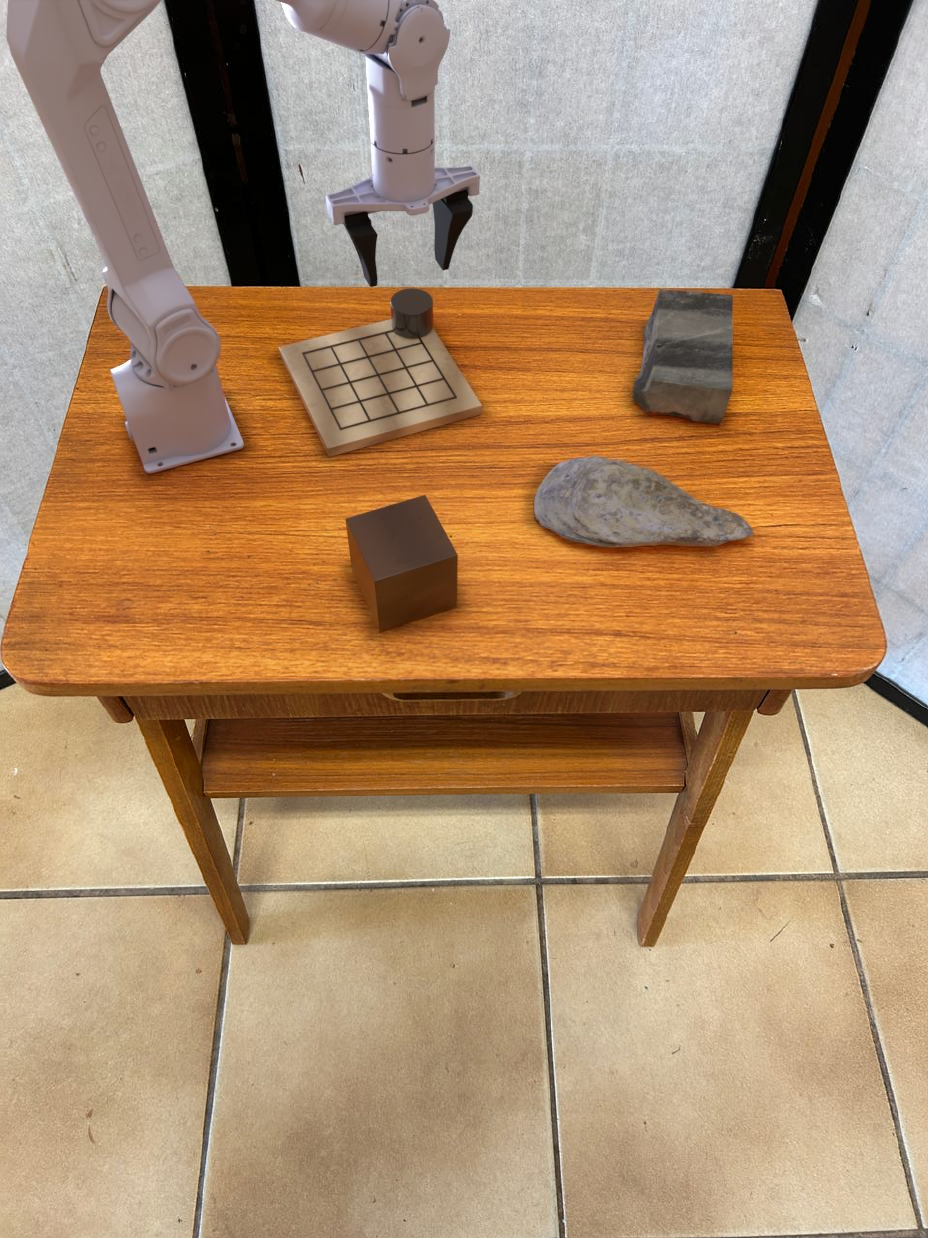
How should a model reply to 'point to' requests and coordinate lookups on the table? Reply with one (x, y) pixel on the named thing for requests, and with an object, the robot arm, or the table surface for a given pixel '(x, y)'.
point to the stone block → (687, 356)
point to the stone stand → (403, 562)
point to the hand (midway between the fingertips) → (406, 272)
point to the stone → (628, 507)
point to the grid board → (376, 385)
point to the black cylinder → (412, 313)
